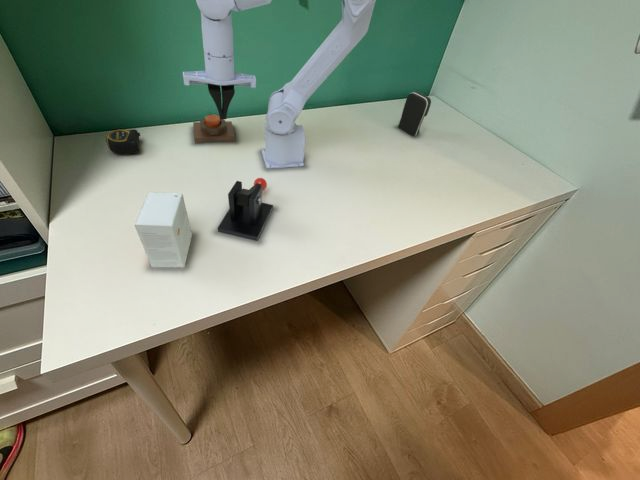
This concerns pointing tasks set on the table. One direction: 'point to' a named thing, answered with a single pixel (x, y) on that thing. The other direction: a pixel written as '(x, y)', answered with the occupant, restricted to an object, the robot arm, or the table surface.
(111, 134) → the tape measure
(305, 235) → the table surface
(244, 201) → the lever
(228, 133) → the button block
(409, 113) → the battery charger
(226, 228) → the lever bracket
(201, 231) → the table surface
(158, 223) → the small box
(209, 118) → the button
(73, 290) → the table surface
